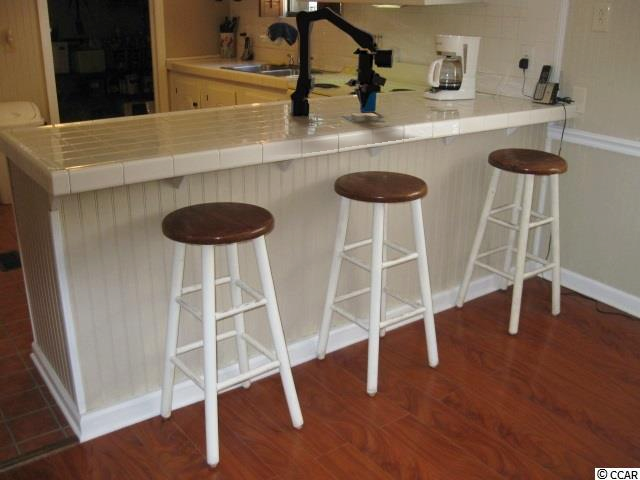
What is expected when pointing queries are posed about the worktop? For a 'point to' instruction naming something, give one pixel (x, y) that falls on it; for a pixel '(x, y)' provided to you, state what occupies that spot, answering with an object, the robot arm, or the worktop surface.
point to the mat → (361, 121)
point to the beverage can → (370, 103)
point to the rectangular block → (364, 117)
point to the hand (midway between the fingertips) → (363, 107)
